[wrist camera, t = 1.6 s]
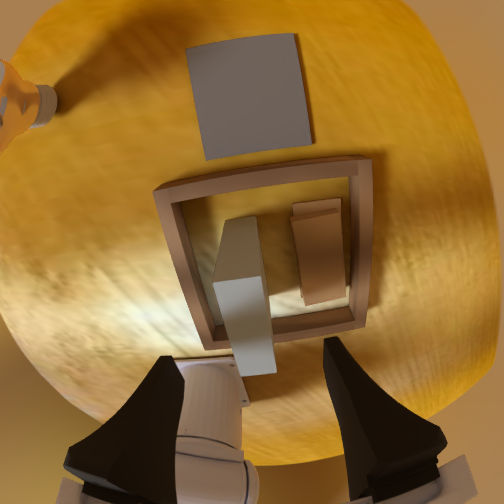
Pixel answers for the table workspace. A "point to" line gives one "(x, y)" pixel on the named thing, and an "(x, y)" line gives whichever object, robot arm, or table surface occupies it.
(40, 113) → the light bulb
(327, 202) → the offcut lower
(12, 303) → the table surface
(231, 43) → the mat
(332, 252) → the offcut upper
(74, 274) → the table surface
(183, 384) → the robot arm
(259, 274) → the light grey slab
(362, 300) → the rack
